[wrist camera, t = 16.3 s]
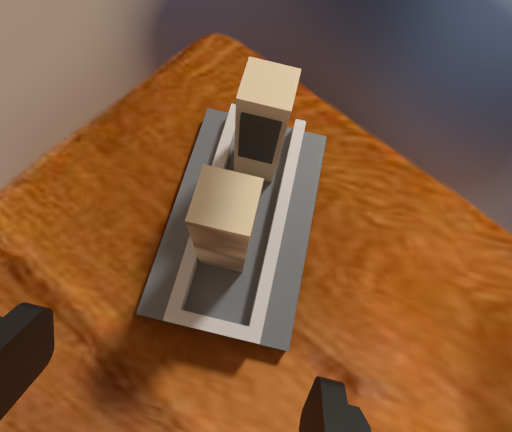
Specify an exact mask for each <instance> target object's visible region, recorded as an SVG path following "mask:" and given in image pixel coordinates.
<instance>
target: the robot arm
mask: <svg viewBox="0 0 512 432" xmlns="http://www.w3.org/2000/svg"><path fill="white" fill-rule="evenodd" d="M53 351H54V325H53V312H52V310H51V309H50V308H46V307H42V306H38V305H34V304H30V303H26V302H25V303H21V304H19V305H18V306H16V307H15V308H14V309H13V310H11V311H10V312H9V313H8V314H7V315H5V316H4V317H0V420H1V419H2V418H3V417H4V416H5V414H6V413H7V412H8V411H9V410H10V408H11V407H12V406H13V405H14V404H15V403H16V401H17V400H18V399H19V398H20V397H21V396H22V394H23V393H24V392H25V391H26V390H27V389H28V387H29V386H30V385H31V384H32V383H33V381H34V380H35V379H36V378H37V377H38V376H39V374H40V373H41V372H42V371H43V370H44V369H45V367H46V366H47V364H48V363H49V361H50V359H51V357H52V354H53ZM299 432H371V428H370V426H369V424H368V422H367V420H366V418H365V417H364V415H363V413H362V411H361V410H360V408H359V407H356V406H352V405H348V402H347V396H346V390H345V386H344V384H343V382H339V381H335V380H331V379H327V378H323V377H319V376H317V377H316V378H315V380H314V383H313V385H312V388H311V390H310V393H309V395H308V397H307V400H306V402H305V405H304V407H303V410H302V414H301V418H300V426H299Z"/></svg>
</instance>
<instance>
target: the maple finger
mask: <svg viewBox="0 0 512 432" xmlns="http://www.w3.org/2000/svg"><path fill="white" fill-rule="evenodd" d="M263 181H264V178H260V177H256V176H252V175H247V174H243V173H239V172H235V171H231V170H226V169H222V168H218V167H214V166H209V165H205V164H203V166H202V169H201V173H200V176H199V179H198V182H197V185H196V188H195V191H194V194H193V197H192V201H191V204H190V207H189V210H188V213H187V216H186V219H185V223H186V226H187V228H188V231H189V234H190V237H191V240H192V242H193V245H194V248H195V251H196V254H197V256H198V259H199V262H200V263H204V264H209V265H213V266H217V267H221V268H225V269H230V270H234V271H238V272H243V268H244V264H245V259H246V255H247V251H248V247H249V243H250V239H251V234H252V230H253V226H254V221H255V217H256V212H257V208H258V203H259V199H260V194H261V190H262V185H263Z"/></svg>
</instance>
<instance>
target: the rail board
mask: <svg viewBox="0 0 512 432" xmlns="http://www.w3.org/2000/svg"><path fill="white" fill-rule="evenodd" d="M300 73H301V69H299V68H295V67H291V66H287V65H282V64H278V63H274V62H270V61H266V60H262V59H258V58H253V57H249V59H248V62H247V65H246V68H245V71H244V74H243V78H242V81H241V84H240V87H239V90H238V94H237V97H236V104H231V107H230V110H229V113H227V112H223V111H218V110H214V109H210V108H208V109H207V112H206V114H205V117H204V120H203V123H202V126H201V129H200V132H199V135H198V137H197V140H196V143H195V146H194V149H193V152H192V155H191V157H190V160H189V163H188V166H187V169H186V172H185V175H184V178H183V180H182V183H181V186H180V189H179V192H178V195H177V198H176V200H175V203H174V206H173V209H172V212H171V215H170V218H169V221H168V223H167V226H166V229H165V232H164V235H163V238H162V241H161V244H160V246H159V249H158V252H157V255H156V258H155V261H154V264H153V266H152V269H151V272H150V275H149V278H148V281H147V284H146V287H145V289H144V292H143V295H142V298H141V301H140V304H139V307H138V309H137V312H136V314H137V315H141V316H145V317H149V318H153V319H157V320H161V321H165V322H169V323H173V324H178V325H182V326H186V327H190V328H194V329H198V330H202V331H206V332H210V333H214V334H218V335H222V336H227V337H231V338H235V339H239V340H243V341H247V342H251V343H255V344H259V345H263V346H267V347H271V348H275V349H280V350H284V351H289V346H290V340H291V335H292V329H293V324H294V318H295V312H296V307H297V301H298V295H299V290H300V284H301V278H302V273H303V267H304V261H305V256H306V250H307V245H308V239H309V233H310V228H311V222H312V216H313V211H314V205H315V199H316V194H317V188H318V183H319V177H320V171H321V166H322V160H323V154H324V149H325V143H326V136H322V135H318V134H314V133H310V132H306V131H304V130H305V125H306V121H303V120H298V119H296V120H295V123H294V127H293V128H289V127H287V126H288V122H289V119H290V115H291V111H292V107H293V103H294V98H295V94H296V90H297V85H298V81H299V77H300ZM203 164H205V165H209V166H214V167H218V168H222V169H226V170H231V171H235V172H239V173H243V174H247V175H252V176H256V177H260V178H264V181H263V185H262V190H261V194H260V199H259V203H258V208H257V212H256V217H255V221H254V226H253V230H252V234H251V239H250V243H249V247H248V251H247V255H246V259H245V264H244V268H243V272H238V271H234V270H230V269H225V268H221V267H217V266H213V265H209V264H204V263H200V262H199V259H198V256H197V254H196V251H195V248H194V245H193V242H192V240H191V237H190V234H189V231H188V228H187V226H186V223H185V219H186V216H187V213H188V210H189V207H190V204H191V201H192V197H193V194H194V191H195V188H196V185H197V182H198V179H199V176H200V173H201V169H202V166H203Z"/></svg>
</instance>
